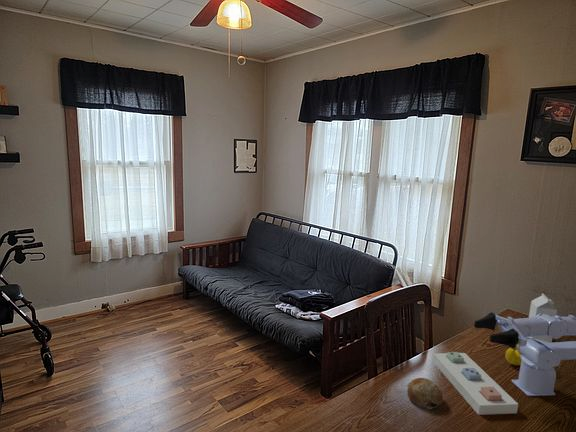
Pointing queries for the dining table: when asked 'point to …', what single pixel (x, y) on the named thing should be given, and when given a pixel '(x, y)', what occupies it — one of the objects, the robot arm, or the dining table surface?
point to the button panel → (474, 386)
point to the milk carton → (545, 307)
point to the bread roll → (424, 393)
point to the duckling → (513, 356)
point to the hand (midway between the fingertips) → (482, 331)
